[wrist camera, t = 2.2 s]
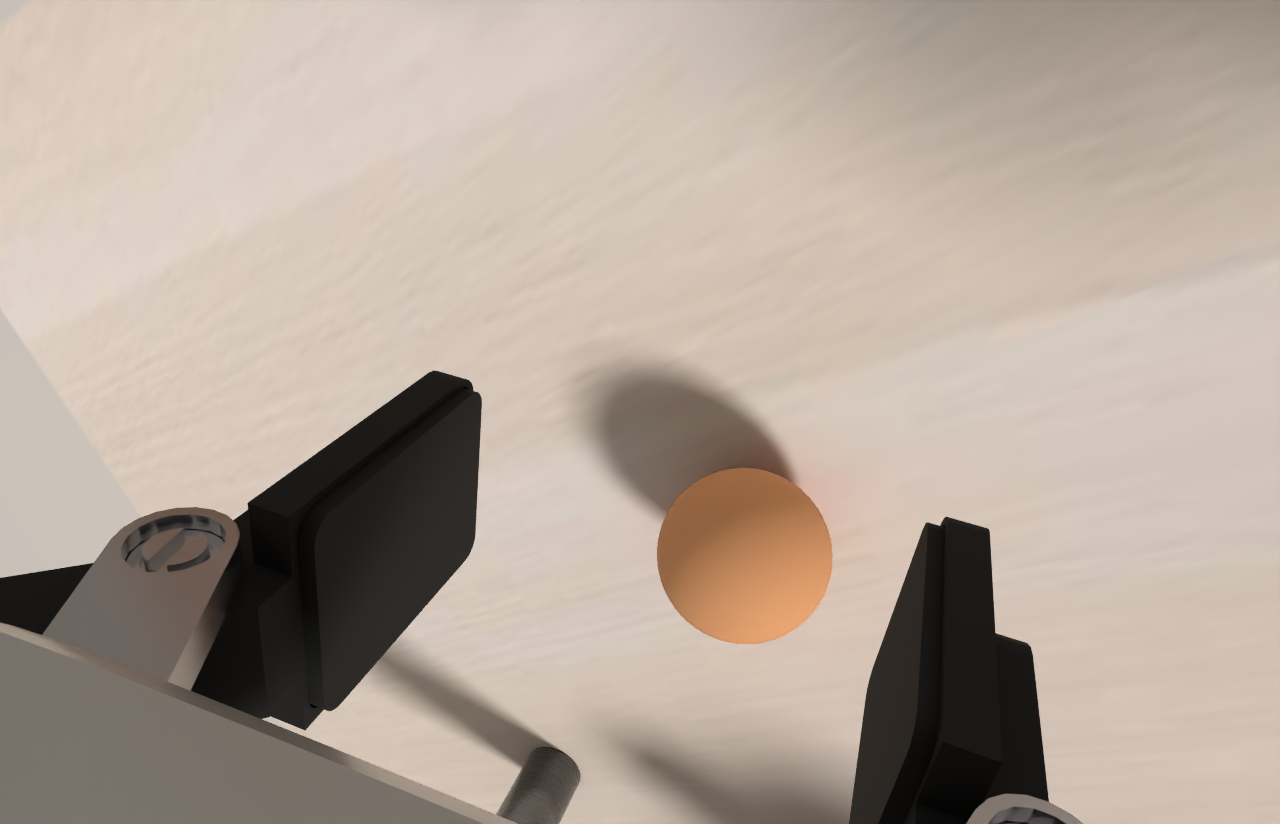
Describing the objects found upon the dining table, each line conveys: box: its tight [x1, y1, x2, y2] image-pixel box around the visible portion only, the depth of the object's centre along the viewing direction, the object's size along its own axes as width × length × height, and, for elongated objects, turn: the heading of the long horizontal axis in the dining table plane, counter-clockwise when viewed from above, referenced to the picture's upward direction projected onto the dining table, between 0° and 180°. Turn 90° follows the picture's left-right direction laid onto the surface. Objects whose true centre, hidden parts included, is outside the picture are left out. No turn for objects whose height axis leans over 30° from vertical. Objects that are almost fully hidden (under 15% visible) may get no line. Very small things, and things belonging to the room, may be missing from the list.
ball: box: [657, 468, 832, 644], centre depth 28 cm, size 6×6×6 cm
